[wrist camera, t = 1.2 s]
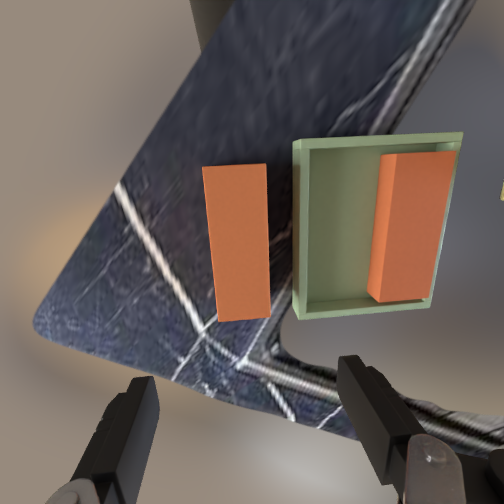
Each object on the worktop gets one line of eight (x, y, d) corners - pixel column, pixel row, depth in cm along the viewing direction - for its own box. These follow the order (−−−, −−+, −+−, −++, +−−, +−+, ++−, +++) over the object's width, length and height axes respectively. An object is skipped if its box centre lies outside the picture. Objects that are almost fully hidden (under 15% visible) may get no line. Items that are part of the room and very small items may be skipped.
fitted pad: (380, 154, 25) (396, 153, 22) (435, 151, 25) (456, 150, 23) (366, 291, 29) (378, 302, 27) (412, 287, 30) (428, 298, 27)
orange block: (206, 166, 24) (202, 166, 20) (259, 163, 25) (266, 163, 20) (219, 299, 29) (218, 322, 24) (264, 295, 29) (270, 317, 25)
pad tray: (292, 141, 24) (300, 138, 22) (439, 134, 25) (464, 131, 23) (292, 306, 30) (298, 320, 27) (412, 295, 31) (430, 307, 28)
